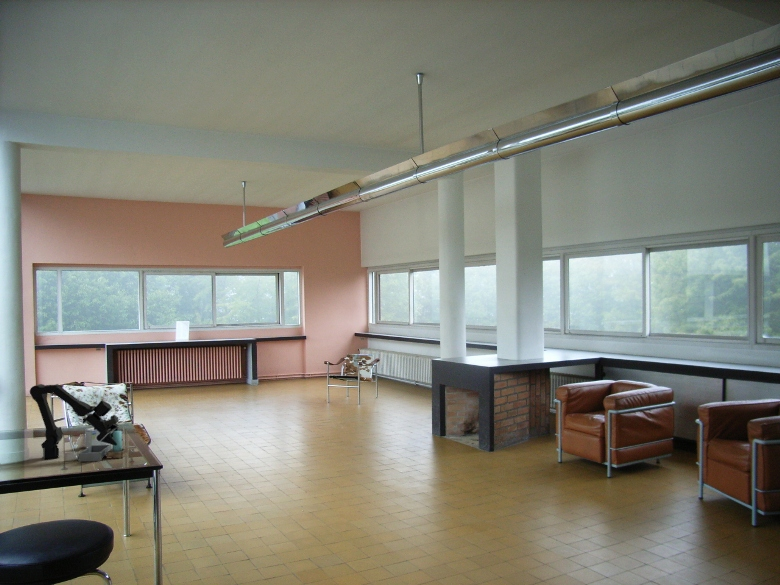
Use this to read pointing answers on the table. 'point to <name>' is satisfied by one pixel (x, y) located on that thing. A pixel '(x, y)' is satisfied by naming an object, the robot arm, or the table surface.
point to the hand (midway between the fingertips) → (119, 442)
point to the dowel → (117, 441)
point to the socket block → (117, 453)
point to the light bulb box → (92, 437)
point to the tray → (94, 453)
